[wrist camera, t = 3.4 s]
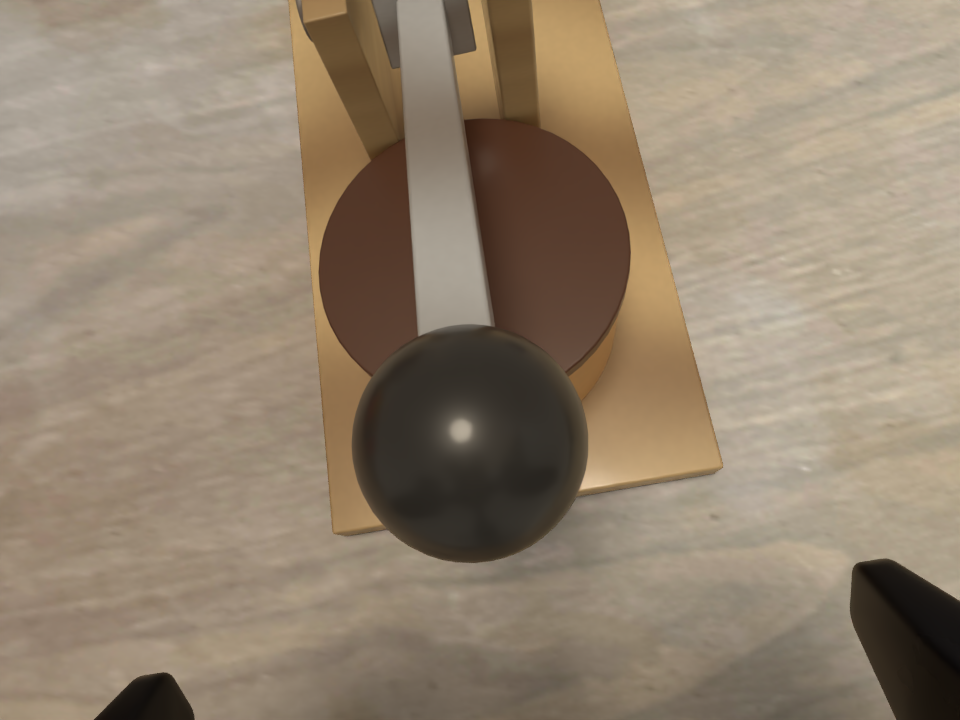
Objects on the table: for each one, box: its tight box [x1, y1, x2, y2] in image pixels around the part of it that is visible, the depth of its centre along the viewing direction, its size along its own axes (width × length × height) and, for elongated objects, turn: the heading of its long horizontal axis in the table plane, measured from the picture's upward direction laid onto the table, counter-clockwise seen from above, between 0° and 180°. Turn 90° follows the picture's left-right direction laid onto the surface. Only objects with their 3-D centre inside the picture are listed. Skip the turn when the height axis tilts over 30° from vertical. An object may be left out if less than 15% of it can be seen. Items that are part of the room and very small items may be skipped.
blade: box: [352, 0, 588, 563], centre depth 13 cm, size 16×3×3 cm, turn 9°
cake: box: [318, 118, 631, 401], centre depth 20 cm, size 8×8×5 cm
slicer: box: [288, 0, 723, 536], centre depth 21 cm, size 24×12×11 cm, turn 9°
